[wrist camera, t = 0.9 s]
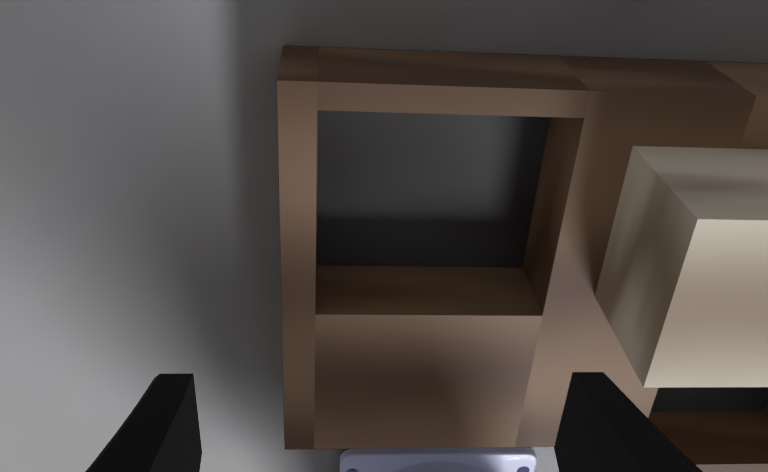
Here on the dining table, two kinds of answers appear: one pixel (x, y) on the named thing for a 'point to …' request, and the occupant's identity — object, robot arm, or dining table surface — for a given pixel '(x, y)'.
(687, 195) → the birch block
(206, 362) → the dining table surface
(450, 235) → the trap board
